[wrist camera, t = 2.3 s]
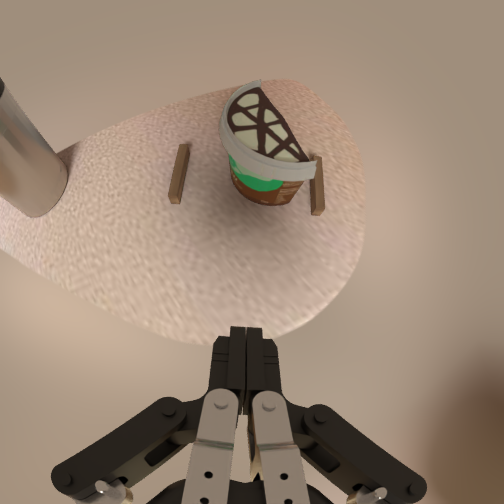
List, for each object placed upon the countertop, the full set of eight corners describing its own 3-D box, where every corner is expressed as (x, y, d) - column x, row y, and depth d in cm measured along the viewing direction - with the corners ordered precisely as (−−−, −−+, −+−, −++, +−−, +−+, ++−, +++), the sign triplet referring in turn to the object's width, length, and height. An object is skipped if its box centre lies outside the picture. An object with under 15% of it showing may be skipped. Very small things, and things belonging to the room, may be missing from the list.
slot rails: (171, 203, 30) (167, 195, 28) (181, 153, 32) (179, 144, 30) (319, 215, 31) (324, 208, 29) (317, 165, 33) (321, 157, 31)
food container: (206, 147, 33) (201, 89, 23) (251, 134, 34) (258, 76, 24) (244, 233, 30) (251, 187, 20) (294, 214, 31) (320, 165, 21)
